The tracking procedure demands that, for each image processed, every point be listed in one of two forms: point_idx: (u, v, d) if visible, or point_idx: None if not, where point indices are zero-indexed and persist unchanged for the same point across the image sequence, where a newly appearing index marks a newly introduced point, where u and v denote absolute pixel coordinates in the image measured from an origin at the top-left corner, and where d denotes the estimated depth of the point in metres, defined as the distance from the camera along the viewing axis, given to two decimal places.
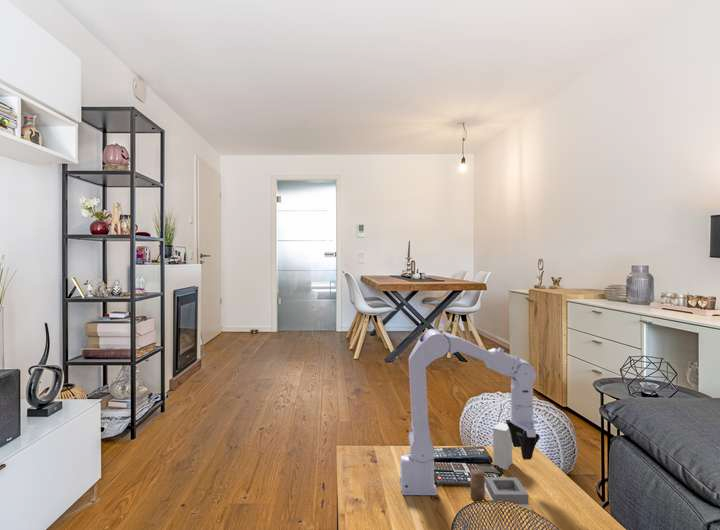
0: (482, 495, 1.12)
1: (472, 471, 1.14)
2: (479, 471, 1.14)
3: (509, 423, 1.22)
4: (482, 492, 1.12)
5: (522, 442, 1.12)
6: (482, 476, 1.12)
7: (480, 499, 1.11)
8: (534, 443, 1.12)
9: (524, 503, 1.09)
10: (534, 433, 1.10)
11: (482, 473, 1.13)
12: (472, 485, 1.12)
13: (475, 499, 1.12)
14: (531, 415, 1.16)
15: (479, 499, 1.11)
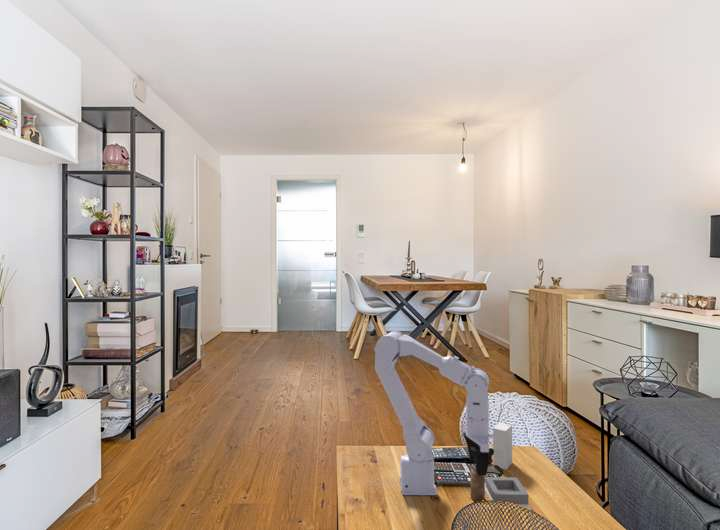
0: (482, 495, 1.12)
1: (472, 471, 1.14)
2: None
3: (466, 436, 1.17)
4: (482, 492, 1.12)
5: (476, 457, 1.08)
6: (482, 476, 1.12)
7: (480, 499, 1.11)
8: (488, 458, 1.08)
9: (524, 503, 1.09)
10: (488, 448, 1.06)
11: None
12: (472, 485, 1.12)
13: (475, 499, 1.12)
14: (486, 428, 1.11)
15: (479, 499, 1.11)
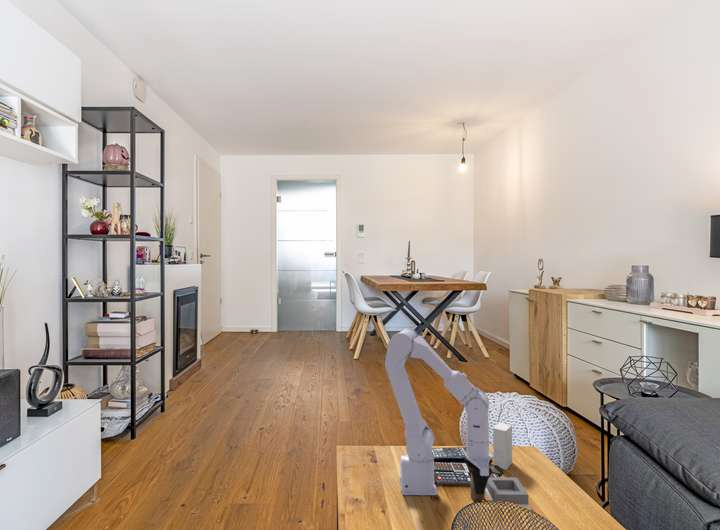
0: (482, 495, 1.12)
1: None
2: None
3: (467, 460, 1.15)
4: None
5: (474, 477, 1.10)
6: None
7: (480, 499, 1.11)
8: (486, 478, 1.10)
9: (524, 503, 1.09)
10: (488, 471, 1.06)
11: None
12: (472, 485, 1.12)
13: (475, 499, 1.12)
14: (486, 451, 1.11)
15: (479, 499, 1.11)
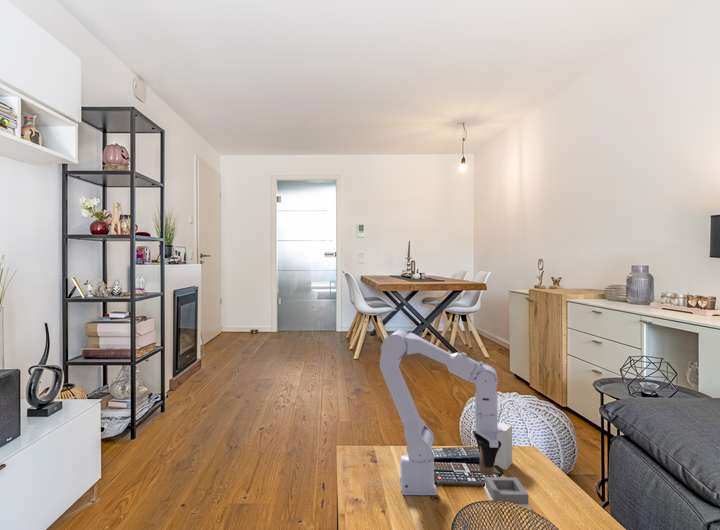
0: (491, 468, 1.11)
1: None
2: None
3: (476, 435, 1.15)
4: None
5: (483, 449, 1.09)
6: None
7: (489, 472, 1.11)
8: (495, 450, 1.09)
9: (524, 503, 1.09)
10: (497, 443, 1.06)
11: None
12: (481, 458, 1.12)
13: (484, 472, 1.12)
14: (495, 424, 1.11)
15: (488, 472, 1.11)
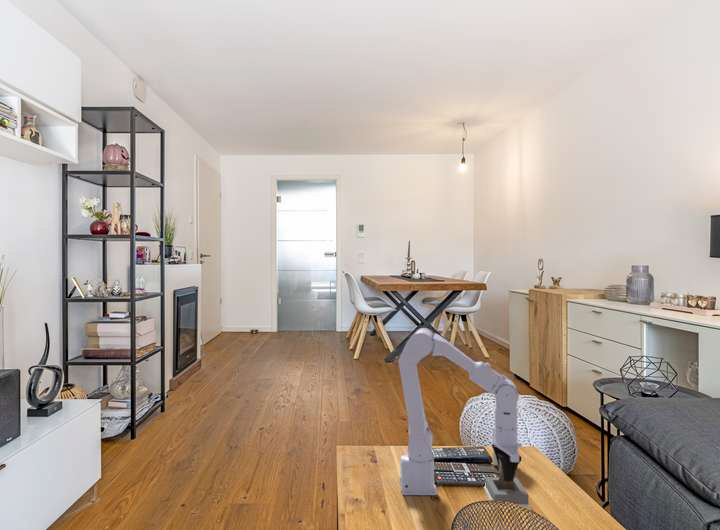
0: (511, 482, 1.11)
1: None
2: None
3: (495, 448, 1.15)
4: None
5: (503, 464, 1.09)
6: None
7: (509, 486, 1.11)
8: (516, 465, 1.09)
9: (524, 503, 1.09)
10: (518, 458, 1.06)
11: None
12: (501, 472, 1.12)
13: (504, 486, 1.12)
14: (515, 438, 1.11)
15: (508, 486, 1.11)
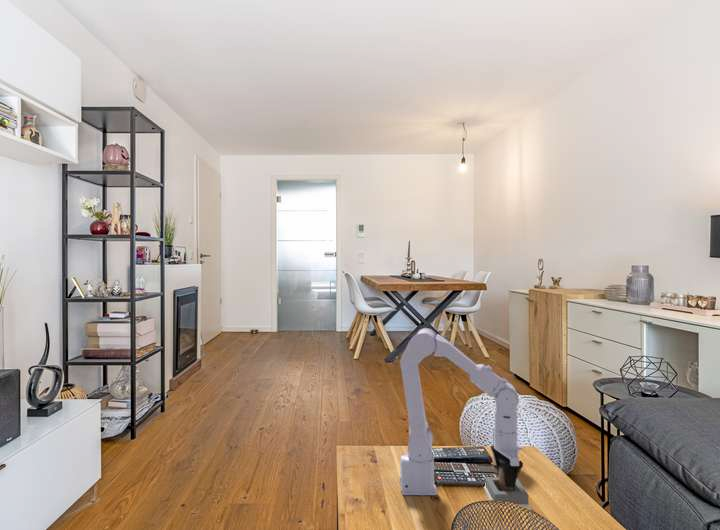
0: None
1: (500, 467, 1.14)
2: None
3: (494, 450, 1.16)
4: (511, 488, 1.11)
5: (505, 470, 1.08)
6: None
7: None
8: (517, 471, 1.08)
9: (524, 503, 1.09)
10: (518, 462, 1.06)
11: None
12: (500, 481, 1.12)
13: None
14: (515, 442, 1.11)
15: None
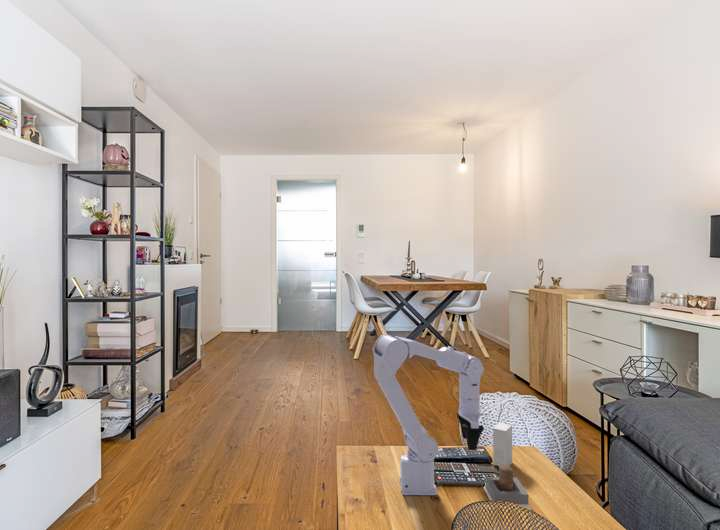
0: None
1: (500, 467, 1.13)
2: (507, 467, 1.13)
3: (459, 416, 1.27)
4: (511, 488, 1.11)
5: (467, 433, 1.18)
6: (511, 472, 1.11)
7: None
8: (478, 434, 1.18)
9: (524, 503, 1.09)
10: (478, 424, 1.16)
11: (510, 469, 1.12)
12: (501, 481, 1.12)
13: None
14: (477, 408, 1.21)
15: None
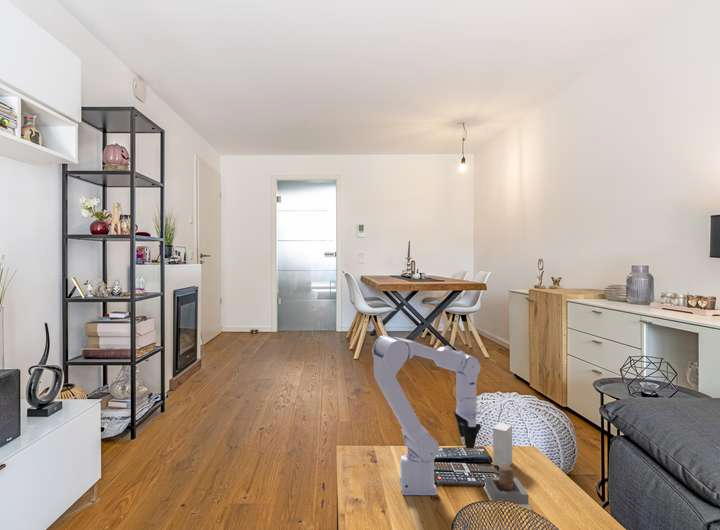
0: None
1: (500, 467, 1.13)
2: (507, 467, 1.13)
3: (456, 414, 1.28)
4: (511, 488, 1.11)
5: (464, 432, 1.19)
6: (511, 472, 1.11)
7: None
8: (476, 432, 1.19)
9: (524, 503, 1.09)
10: (475, 423, 1.17)
11: (511, 469, 1.12)
12: (501, 481, 1.12)
13: None
14: (474, 406, 1.22)
15: None
